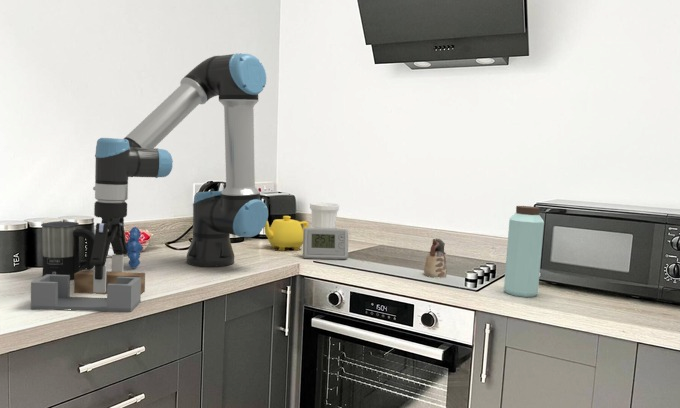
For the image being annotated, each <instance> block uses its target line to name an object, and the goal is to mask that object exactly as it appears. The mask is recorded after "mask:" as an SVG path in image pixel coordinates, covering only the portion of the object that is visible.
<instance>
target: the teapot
mask: <svg viewBox="0 0 680 408" xmlns="http://www.w3.org/2000/svg"><path fill="white" fill-rule="evenodd" d="M302 225H303V226H302ZM304 228H309V222H308V221H305V220H302V221H300V220H296V219H291V216H289V215H282V218H281V219H274V220H273V222H272V223H271V225H270V224H269V221H268V220H267V223H266V225H265V227H264V233H265V236H266V238H267V240H268V242H269V244H270V245H272V246H271V248H273V249H278V251H280V252H284V251H286V248H292V250H294V251H299V250H300V248H299V247H303V231H304Z"/></svg>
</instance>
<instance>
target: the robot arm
mask: <svg viewBox="0 0 680 408" xmlns="http://www.w3.org/2000/svg"><path fill="white" fill-rule="evenodd" d="M179 83H180V86H178V87H176V89H175V90H174V91H173V92H172V93H171V94H170V95H168V97H166V99H164V100H163V101H162V102H161V103H160V104H159V105H158V106H157V107H156V108H155V109H154V110H152V111H151V113H150V114H148V115H147V116H146V117H145V118H144V119H143V120H142V121H140V123H139V124H138V125H137V126H136V127H134V128H133V129H132V130H130V132H129V133H128V134H126V136H125V137H124V138H111V137H110V138H109V137H100V138H98V139H97V141H96V147H95V154H94V158H95V166H94V167H95V168H94V169H95V172H94V173H95V175H94V176H95V177H94V178H95V179H94V180H95V182H94V183H95V184H94V186H93V188H92V190H93V191H94V199H95V200H96V201H95V202H94V205H93V207H94V208H93V210H94V211H93V213H94V214H93V215H94V217H96V218H101V223H99V222H98V223H97V222H96V223H95V234H94V235H95V239H94V244H93V249H92V255H91V260H90V265H92V266H94V268H93V271H94V277H93V292H96V293H105V292H106V271H108V270H107V265H106V261H107V258H108V253H109V250H110V248H112V251H113V254H112V255H111V272H124V263H125V262H124V261H125V260H124V259H125V256H124V255H127V254H128V253H127V247H126V243H127V242H126V241H127V240H126V234H125V233H126V232H125V224H124V223H125V219H124V218H126V217H127V216H128V203H127V202H126V201H127V200H128V199H129V198H128V197H129V196H128V195H129V189H128V188H129V178H155V179H157V178H165V177H168V176H169V175H170V174H171V173H172V170H173V162H174V160H173V158H172V155H171V153H170V152H169V151H168V150H166V149H163V148H156V147H157V146H158V145H159V144H160V143H161V142H162V141H163V140H164V139H165V138H166V137H167V136H168V135H169V134H170V133H171V132H172V131H174V129H175V128H176V127H177V126H178V125H179V124H180V123H182V121H184V119H186V117H188V116H189V114H191V113H192V111H194V110H195V109H196V108H197V107H198V106H199V105H204V104H206V103H207V102H208V101H209V100H210V99H212V98H214V97H217V96H218V102H219V104H221V105H222V106H223V108H224V109H223V112H224V113H223V115H224V118H223V119H224V149H225V153H224V155H225V157H224V158H225V187H224V189H222V190H216V191H215V190H213V191H198V192H196V193H194V196H193V203H192V210H193V212H192V239H191V243H190V245H189V247H188V250H187V253H186V257H185V258H186V262H185V263H187V264H188V265H191V266H195V267H208V268H209V267H211V268H213V267H225V266H231V265H234V264H235V253H234V249H233V246H232V242H231V238H230V237H231V235H233V236H237V237H240V238H244V237H245V238H252V237H253V238H254V237H255V236H257V235H259V234H260V233H261V232H262V230H263V229H265V225H266V223H267V221H268V218H269V209H268V207H267V205H266V204H265V202H264V201H263V200H261V193H260V190H259V189H258V188H257V187H256V185H255V184H256V179H255V178H256V176H255V171H256V170H255V128H254V127H255V124H254V123H255V122H254V118H255V117H254V116H255V115H254V107H255V105H256V104H258V102H259V94H260V93H262V92H263V90H264V88H265V87H266V85H267V73H266V69H265V67H264V65H263V64H262V62H260V60H259V58H257V57H256V56H255V55H252V53H251V54H250V53H232V54H231V53H230V54H223V55H212V56H211V57H208V58H206V59H205V60H202V62H200V63H199V64H198V65H196V66H195V67H194V68H193V69H191V70H190V71H189V72H188V73H187V74H186V75H185V76H184V77H182V78H181V80H180V82H179Z"/></svg>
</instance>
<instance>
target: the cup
mask: <svg viewBox="0 0 680 408" xmlns="http://www.w3.org/2000/svg"><path fill="white" fill-rule="evenodd" d="M309 209H310V210H311V224H312V227H311V228H336V221H337V217H338V212H339V210H340V204H338V203H331V202H311V203H309Z"/></svg>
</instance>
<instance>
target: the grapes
mask: <svg viewBox="0 0 680 408" xmlns="http://www.w3.org/2000/svg"><path fill="white" fill-rule="evenodd" d="M128 233H129V234H128V239H127V240H126V241H127V242H126V247H127V254H126V256H127V257H128V262H127V263H128V265H129V266H130V267H131V268H132V269H137V267H138V266H140V264H141V261H140V258H141V251H142V250H143V248H144V246H143V245H142V244H141V242H140V238H141V236H142V235H141V233H142V232H141V230H140V229H139V228H138V227H137V226H133V227H132V228H131V229H130V230H129V232H128Z"/></svg>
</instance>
